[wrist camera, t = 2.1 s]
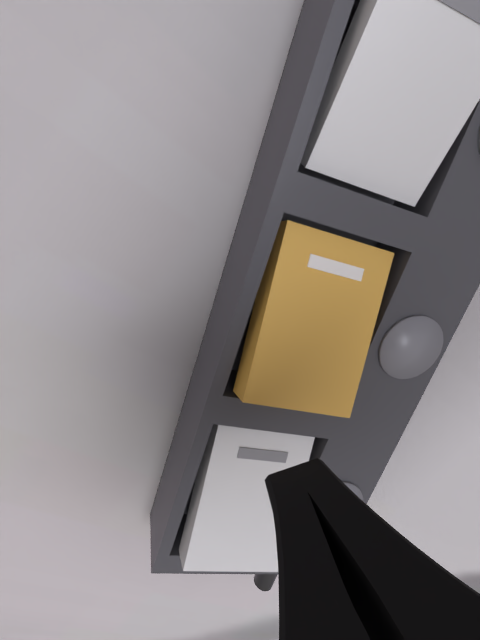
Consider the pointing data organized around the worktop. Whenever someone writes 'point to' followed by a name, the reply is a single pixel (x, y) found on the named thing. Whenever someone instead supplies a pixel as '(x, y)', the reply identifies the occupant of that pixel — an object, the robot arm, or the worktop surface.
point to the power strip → (394, 313)
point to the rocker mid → (312, 322)
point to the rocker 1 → (237, 500)
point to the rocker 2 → (397, 95)
